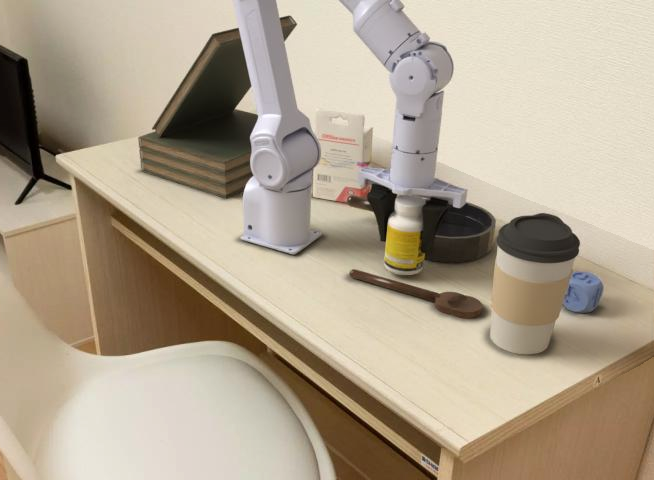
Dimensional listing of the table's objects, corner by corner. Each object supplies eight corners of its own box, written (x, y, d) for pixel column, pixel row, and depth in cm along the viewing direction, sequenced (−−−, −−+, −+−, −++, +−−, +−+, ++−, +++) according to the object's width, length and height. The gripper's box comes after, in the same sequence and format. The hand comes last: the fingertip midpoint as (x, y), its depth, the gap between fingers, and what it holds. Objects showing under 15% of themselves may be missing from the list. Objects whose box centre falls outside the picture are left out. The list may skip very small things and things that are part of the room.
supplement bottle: (421, 278, 106) (429, 210, 101) (381, 273, 107) (387, 206, 102) (424, 260, 111) (432, 194, 105) (386, 256, 112) (391, 190, 106)
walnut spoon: (342, 282, 106) (342, 274, 106) (357, 269, 110) (357, 262, 109) (473, 321, 99) (475, 313, 98) (486, 306, 102) (487, 298, 101)
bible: (227, 138, 155) (222, 1, 142) (308, 160, 146) (311, 16, 132) (140, 171, 139) (126, 20, 126) (225, 198, 130) (220, 39, 116)
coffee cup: (543, 368, 90) (570, 249, 82) (469, 344, 94) (487, 228, 86) (567, 333, 97) (593, 219, 89) (496, 312, 101) (515, 201, 93)
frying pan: (378, 248, 115) (380, 223, 113) (418, 215, 126) (420, 191, 124) (471, 273, 110) (475, 247, 107) (504, 236, 120) (509, 211, 118)
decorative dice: (585, 316, 100) (592, 289, 98) (556, 305, 102) (562, 278, 100) (599, 305, 103) (606, 278, 101) (571, 294, 105) (577, 267, 103)
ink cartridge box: (370, 195, 132) (376, 107, 124) (360, 206, 128) (366, 115, 120) (322, 187, 135) (325, 100, 127) (311, 197, 131) (313, 108, 123)
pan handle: (344, 206, 123) (345, 196, 122) (349, 203, 124) (350, 192, 123) (399, 220, 119) (400, 209, 118) (404, 216, 120) (405, 205, 119)
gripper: (349, 144, 100) (344, 242, 107) (457, 167, 94) (444, 269, 101) (374, 129, 105) (367, 224, 112) (478, 150, 99) (464, 249, 106)
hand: (405, 244), depth 107 cm, fingers closed on supplement bottle, 5 cm apart
